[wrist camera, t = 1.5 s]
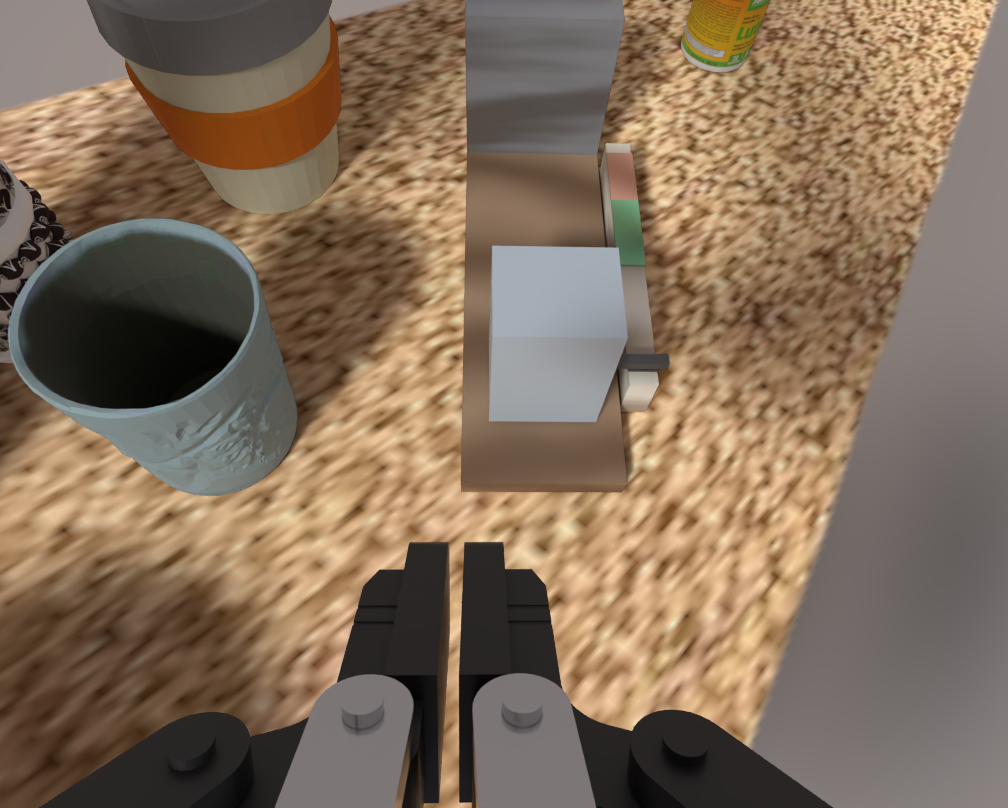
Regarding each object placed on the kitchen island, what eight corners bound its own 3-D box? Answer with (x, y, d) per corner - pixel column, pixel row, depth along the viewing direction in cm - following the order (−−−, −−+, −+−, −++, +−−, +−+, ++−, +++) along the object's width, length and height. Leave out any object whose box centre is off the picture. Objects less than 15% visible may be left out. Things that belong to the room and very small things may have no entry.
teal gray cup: (110, 399, 40) (-24, 275, 29) (271, 322, 43) (203, 182, 32) (176, 544, 37) (52, 463, 26) (347, 450, 39) (299, 341, 29)
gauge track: (654, 492, 39) (718, 402, 29) (461, 491, 39) (456, 400, 28) (614, 130, 51) (650, -24, 41) (468, 127, 51) (466, -30, 40)
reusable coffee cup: (340, 86, 52) (293, -142, 39) (386, 208, 47) (350, -4, 34) (169, 122, 50) (56, -106, 36) (198, 256, 45) (79, 48, 31)
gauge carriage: (661, 422, 39) (710, 338, 31) (488, 421, 39) (492, 336, 30) (647, 302, 42) (687, 198, 34) (489, 300, 42) (492, 195, 34)
